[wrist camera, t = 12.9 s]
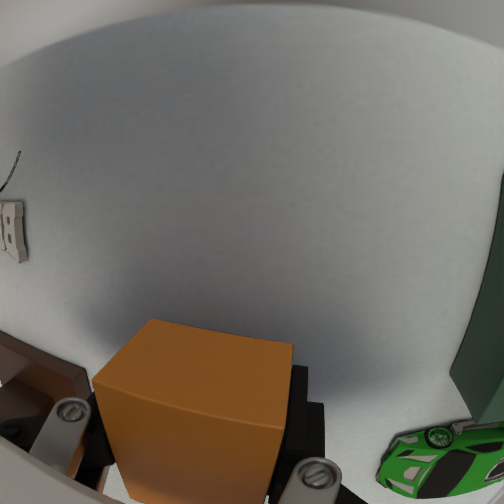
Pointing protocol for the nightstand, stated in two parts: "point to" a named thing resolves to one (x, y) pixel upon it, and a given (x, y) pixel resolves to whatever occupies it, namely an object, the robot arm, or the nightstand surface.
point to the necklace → (12, 226)
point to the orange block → (195, 413)
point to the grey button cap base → (485, 341)
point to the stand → (35, 380)
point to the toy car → (445, 461)
